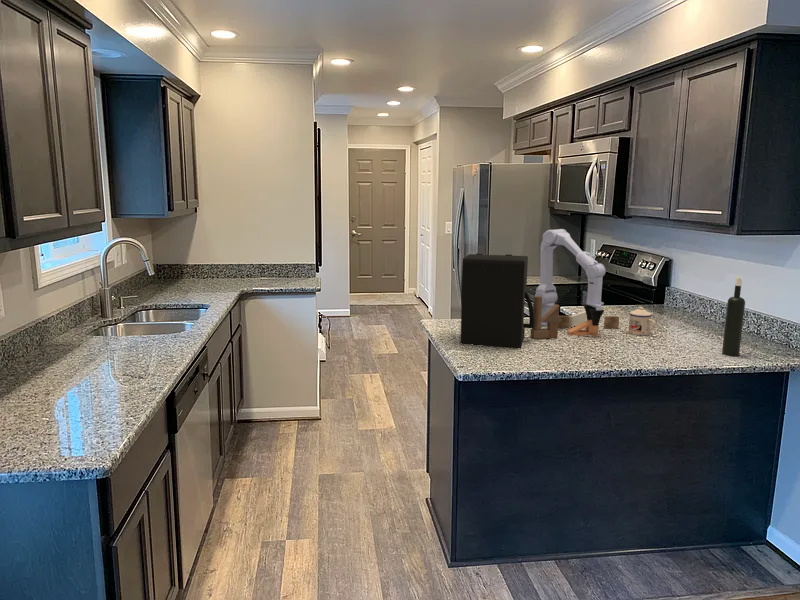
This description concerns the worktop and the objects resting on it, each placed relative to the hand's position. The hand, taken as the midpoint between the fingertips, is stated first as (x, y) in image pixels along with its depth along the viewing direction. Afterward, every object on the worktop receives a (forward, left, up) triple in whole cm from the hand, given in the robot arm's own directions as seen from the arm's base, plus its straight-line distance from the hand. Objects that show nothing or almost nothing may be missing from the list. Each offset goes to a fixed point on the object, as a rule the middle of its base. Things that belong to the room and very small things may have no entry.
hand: (592, 323), depth 257 cm
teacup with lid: (+22, +2, -5) cm, 23 cm away
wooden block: (-22, -6, -5) cm, 24 cm away
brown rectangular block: (+1, +12, -5) cm, 13 cm away
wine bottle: (+44, -29, -5) cm, 53 cm away
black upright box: (-42, -12, -5) cm, 44 cm away
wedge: (-4, 0, -5) cm, 6 cm away
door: (-1, +17, -5) cm, 18 cm away
